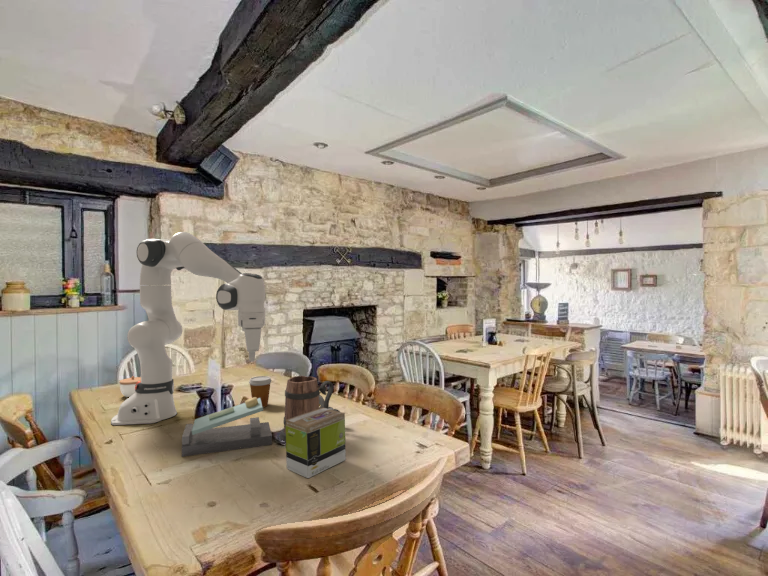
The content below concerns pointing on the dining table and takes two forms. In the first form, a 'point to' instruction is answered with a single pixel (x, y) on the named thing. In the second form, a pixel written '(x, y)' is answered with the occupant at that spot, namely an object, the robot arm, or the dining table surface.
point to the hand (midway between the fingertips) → (251, 360)
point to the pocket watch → (322, 402)
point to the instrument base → (226, 438)
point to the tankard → (303, 397)
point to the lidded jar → (128, 386)
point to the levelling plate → (227, 415)
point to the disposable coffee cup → (260, 388)
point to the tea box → (315, 441)
